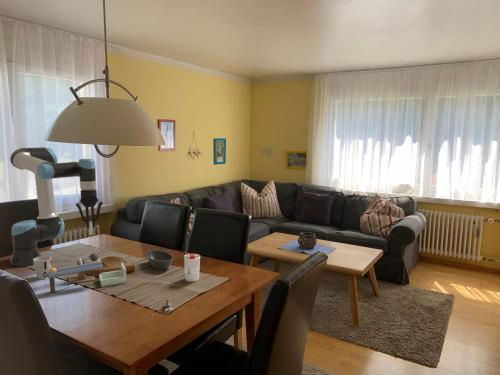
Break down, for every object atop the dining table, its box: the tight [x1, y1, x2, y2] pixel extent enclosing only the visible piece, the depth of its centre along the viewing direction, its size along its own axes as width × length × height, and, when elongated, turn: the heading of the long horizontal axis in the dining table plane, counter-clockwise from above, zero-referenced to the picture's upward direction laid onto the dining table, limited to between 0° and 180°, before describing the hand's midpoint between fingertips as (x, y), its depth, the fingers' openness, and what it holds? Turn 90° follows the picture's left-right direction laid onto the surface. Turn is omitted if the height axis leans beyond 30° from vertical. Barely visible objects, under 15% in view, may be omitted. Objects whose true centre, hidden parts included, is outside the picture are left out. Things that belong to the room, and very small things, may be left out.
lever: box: [47, 252, 104, 279], centre depth 181 cm, size 18×24×4 cm
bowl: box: [145, 249, 174, 271], centre depth 206 cm, size 12×22×6 cm, turn 39°
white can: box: [183, 253, 201, 283], centre depth 187 cm, size 10×8×12 cm
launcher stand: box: [48, 259, 96, 294], centre depth 181 cm, size 18×20×10 cm
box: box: [98, 262, 127, 288], centre depth 183 cm, size 10×12×7 cm
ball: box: [49, 267, 57, 274], centre depth 170 cm, size 3×3×3 cm
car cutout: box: [162, 298, 174, 312], centre depth 152 cm, size 15×7×4 cm, turn 24°
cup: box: [33, 255, 52, 280], centre depth 187 cm, size 8×8×10 cm
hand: (91, 234), depth 190 cm, fingers closed
